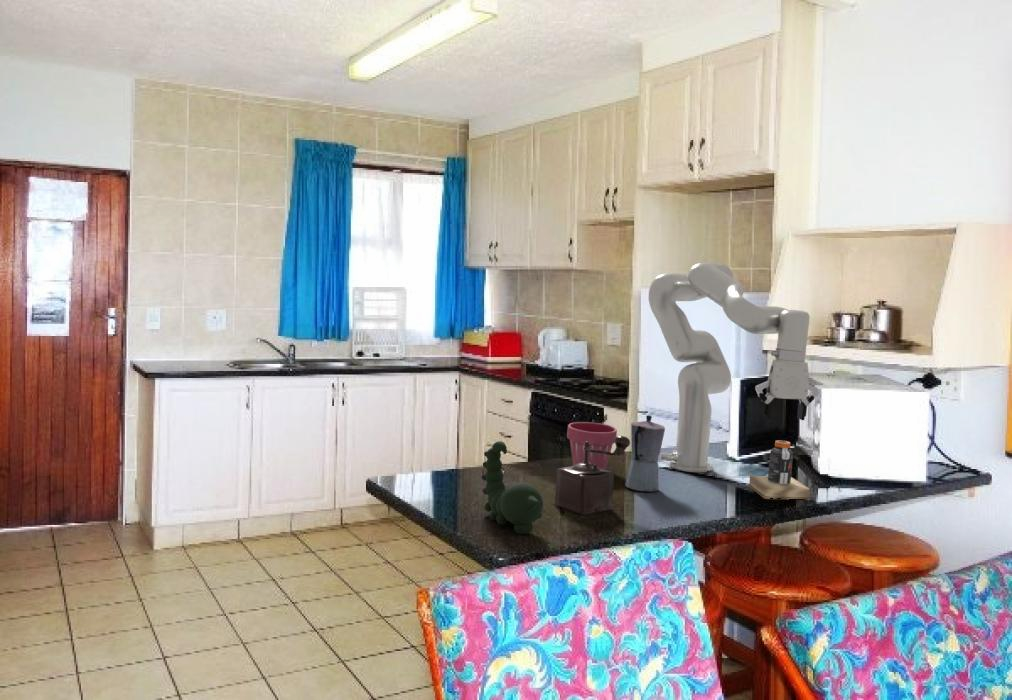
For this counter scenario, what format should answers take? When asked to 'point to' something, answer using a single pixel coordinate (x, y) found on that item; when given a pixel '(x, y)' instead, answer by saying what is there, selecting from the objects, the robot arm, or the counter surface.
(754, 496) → the counter surface
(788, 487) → the base
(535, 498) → the toy figurine
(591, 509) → the coffee grinder
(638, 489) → the moka pot
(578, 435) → the plant pot
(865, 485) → the counter surface
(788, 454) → the pill bottle
